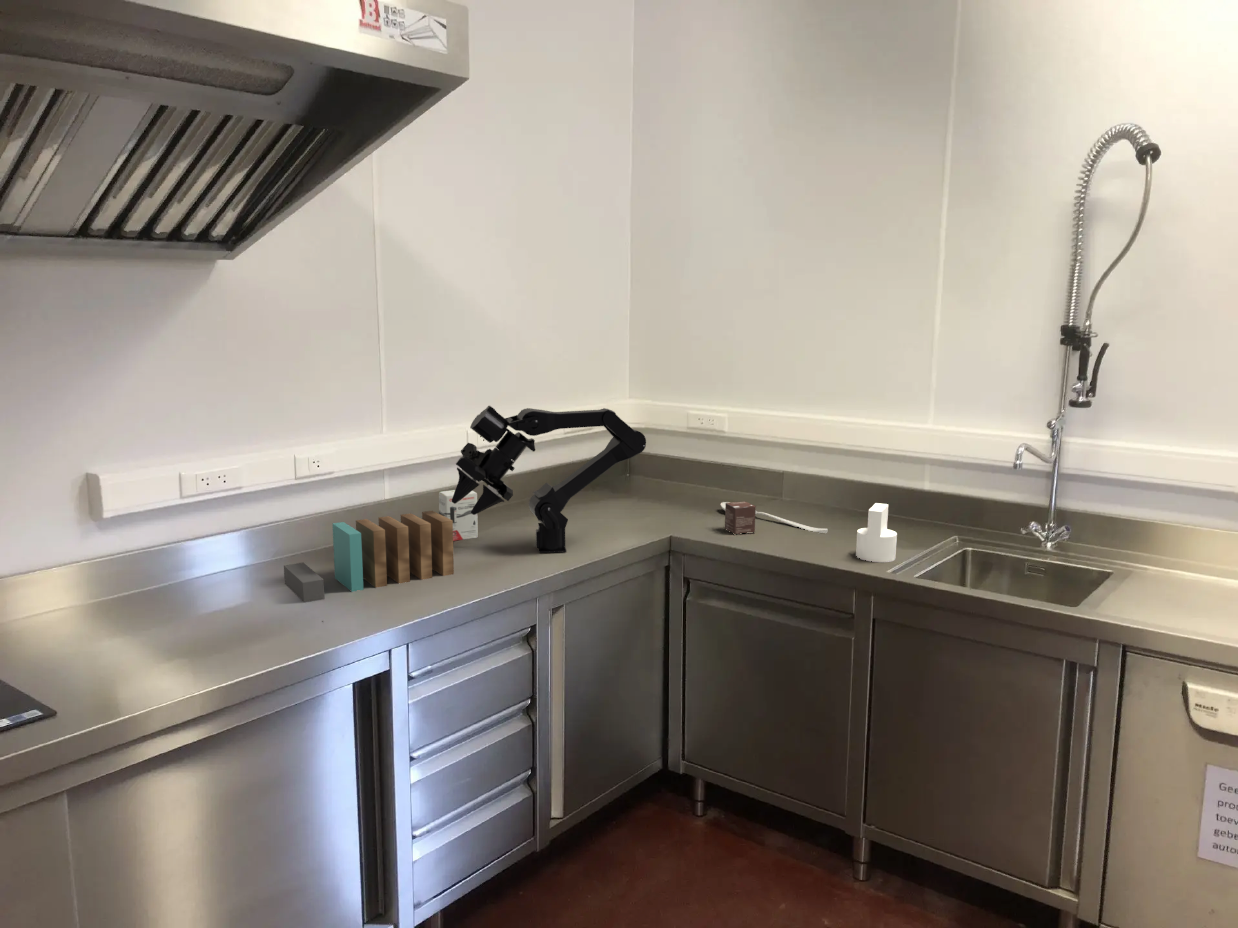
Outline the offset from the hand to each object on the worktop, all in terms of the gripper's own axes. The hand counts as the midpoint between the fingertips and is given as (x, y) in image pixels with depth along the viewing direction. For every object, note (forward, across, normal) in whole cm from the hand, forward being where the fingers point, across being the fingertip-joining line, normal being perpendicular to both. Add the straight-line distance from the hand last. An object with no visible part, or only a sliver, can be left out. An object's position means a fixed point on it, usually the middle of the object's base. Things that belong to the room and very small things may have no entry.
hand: (462, 508), depth 208 cm
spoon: (-45, -62, +41) cm, 87 cm away
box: (-37, -49, +40) cm, 73 cm away
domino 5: (+13, +4, +7) cm, 16 cm away
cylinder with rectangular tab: (-50, -40, +73) cm, 97 cm away
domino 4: (+16, +8, +6) cm, 19 cm away
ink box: (+8, -18, -7) cm, 21 cm away
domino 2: (+22, +15, +3) cm, 27 cm away
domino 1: (+26, +19, +2) cm, 32 cm away
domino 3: (+19, +11, +4) cm, 23 cm away
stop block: (+31, +26, -1) cm, 40 cm away
